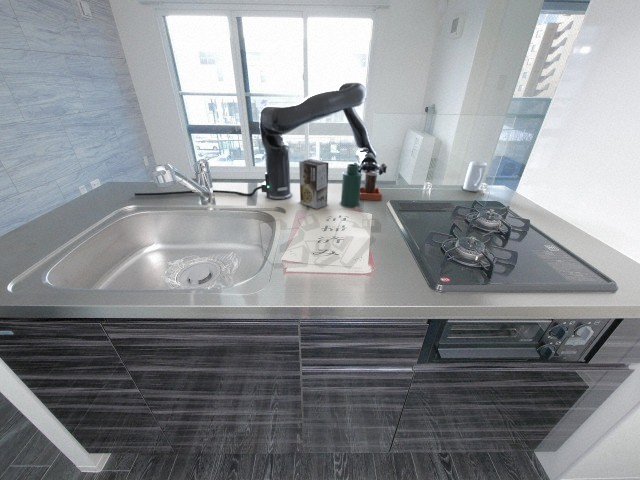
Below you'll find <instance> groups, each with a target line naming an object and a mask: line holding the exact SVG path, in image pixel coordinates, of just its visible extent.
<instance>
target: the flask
mask: <svg viewBox="0 0 640 480" xmlns="http://www.w3.org/2000/svg"><path fill="white" fill-rule="evenodd" d="M359 165H360V164H358V165H356V164H354V163H349V164H347V166H346V167H347V168H346V171H344V172H342V185H341V200H340V205H341V206H342V207H344V208H345V207H346V208H357V207H358V206H359V203H360V199H359V196H360V187H362V186H361V185H362V177H363V175H362V172H361V173H360V172H358V167H359Z"/></svg>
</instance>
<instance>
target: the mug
mask: <svg viewBox="0 0 640 480" xmlns="http://www.w3.org/2000/svg"><path fill="white" fill-rule="evenodd" d="M487 167H488V163H487V162H483V161H477V160H476V161H473V160H472V161H470V163H469V166H468V169H467V172H466V176H465V180H464V184H463V187H462V188H463V190H465V191H468V192H478V191H479V189H480V186H481V184H482V181H483V178H484V175H485V173H486V169H487Z"/></svg>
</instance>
